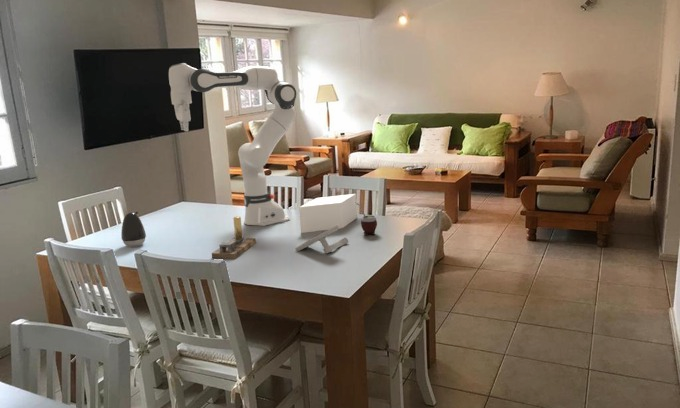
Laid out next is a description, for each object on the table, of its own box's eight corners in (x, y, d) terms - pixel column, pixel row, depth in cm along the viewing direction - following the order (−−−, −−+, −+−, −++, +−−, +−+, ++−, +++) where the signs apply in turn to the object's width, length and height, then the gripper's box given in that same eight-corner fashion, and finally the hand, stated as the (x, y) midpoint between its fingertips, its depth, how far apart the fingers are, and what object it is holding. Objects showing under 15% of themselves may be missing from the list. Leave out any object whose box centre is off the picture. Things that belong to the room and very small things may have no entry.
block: (369, 220, 275) (368, 195, 272) (313, 236, 253) (311, 209, 250) (345, 215, 288) (344, 191, 285) (289, 230, 266) (287, 204, 263)
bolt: (238, 238, 245) (236, 215, 243) (245, 238, 245) (243, 215, 242) (229, 245, 236) (226, 221, 234) (235, 245, 235) (233, 221, 233)
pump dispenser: (151, 242, 257) (147, 209, 254) (139, 249, 247) (134, 215, 244) (131, 241, 259) (126, 209, 256) (118, 248, 249) (113, 215, 246)
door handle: (304, 265, 232) (337, 248, 220) (295, 248, 233) (327, 229, 220) (329, 252, 246) (361, 235, 234) (320, 236, 247) (352, 218, 234)
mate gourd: (380, 233, 251) (379, 200, 248) (369, 237, 245) (367, 204, 242) (367, 231, 256) (366, 198, 253) (356, 235, 250) (354, 202, 247)
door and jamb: (234, 242, 250) (233, 231, 249) (255, 242, 247) (255, 231, 246) (212, 258, 229) (210, 246, 228) (235, 258, 226) (233, 246, 225)
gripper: (192, 100, 250) (195, 131, 253) (185, 99, 268) (188, 128, 271) (177, 101, 248) (181, 132, 251) (171, 100, 266) (175, 129, 269)
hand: (184, 130), depth 261 cm, fingers open, 8 cm apart
